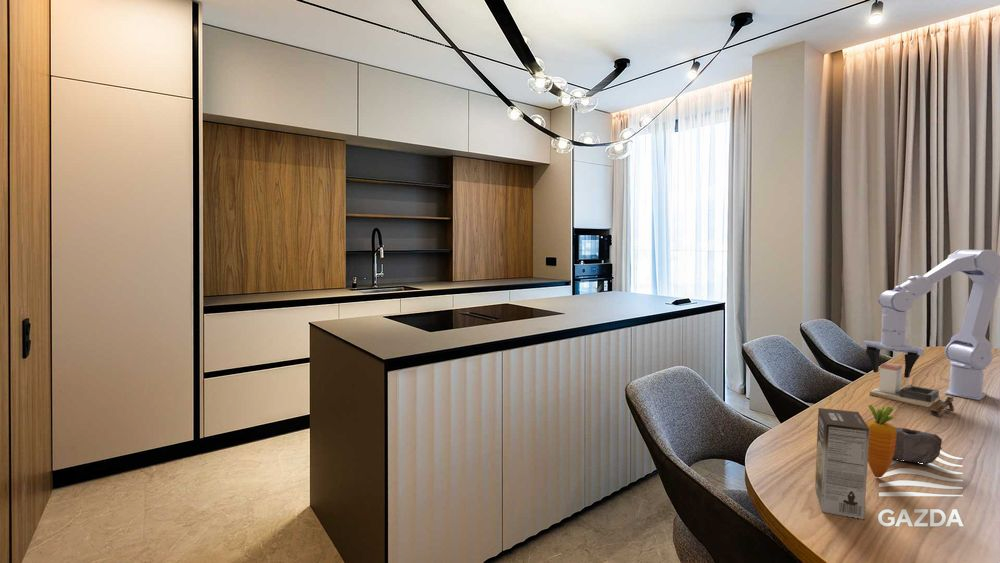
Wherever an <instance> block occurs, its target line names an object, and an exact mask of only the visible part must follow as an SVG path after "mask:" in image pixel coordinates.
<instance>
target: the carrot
mask: <svg viewBox="0 0 1000 563" xmlns="http://www.w3.org/2000/svg"><path fill="white" fill-rule="evenodd" d="M867 407H868V408H869V409H870V411H871V414H872V416H873V418H874V419H873V420H870V421H867V422H865V423H866V425H867V426H868V427H869V429H870V433H869V448H868V466H869V468H870V470H871V472H872V474H873V476H874V477H875V478H876V477H881V478H882V477H883V476H884V475H885V474H886V473H887V471H888V469H889V468H890V466H891V464H892V462H893V460H894V459H893V455H894V452H895V445H896V435H897V431H896V428H895V427H896V426H893V424H891V423H889V422H888V421H891V420H892V419H894V416H893V415H891V414H892V412H893V411H894V410H895V408H894V407H892V406H891V405H888V406H887V407H884V406H881V407H880V408H879V409H878V410H877V411H876V409H875V407H874V406H873V404H868V405H867Z"/></svg>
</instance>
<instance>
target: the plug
mask: <svg viewBox="0 0 1000 563" xmlns="http://www.w3.org/2000/svg"><path fill="white" fill-rule="evenodd" d="M879 366H880V367H879V368H880V369H879V383H878V385H879V386H878V387H879V391H884V392H889V393H894V394H895V393H897V392H899V391H900V390H901V389H902V386H901V385H902V370H903V369H902V368H903V364H899V363H893V362H884V363H881V364H879Z"/></svg>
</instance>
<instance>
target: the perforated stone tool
mask: <svg viewBox="0 0 1000 563" xmlns="http://www.w3.org/2000/svg"><path fill="white" fill-rule="evenodd" d="M894 427H895V428H896V431H897V435H896V445H895V452H894V455H893V459H892V460H895V459H898V460H904V461H909V462H908V463H917V462H919V463H923V464H926V465H925V466H927V465H929V464H932V463H933V462H934V461H935V460H936V459H937V458H938V457H939V456H940V454H941V450H942V449H943V447H941V446H942V443H943V442H942V441H943V439H942V438H941V437H940V436H939V435H937V434H935V433H929V432H925V431H924V432H923V431H920V430H916V429H915V430H914V429H910V428H905V427H896V426H894ZM898 460H897V461H898Z"/></svg>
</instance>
